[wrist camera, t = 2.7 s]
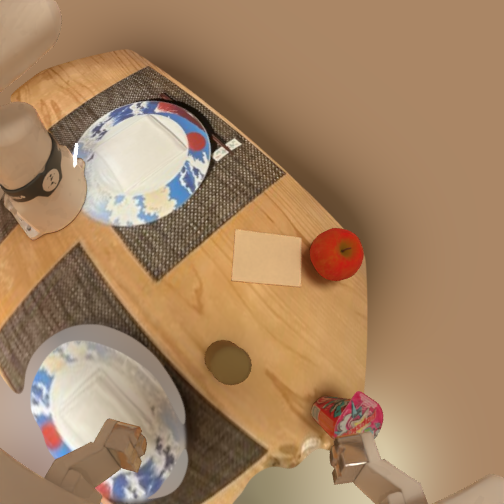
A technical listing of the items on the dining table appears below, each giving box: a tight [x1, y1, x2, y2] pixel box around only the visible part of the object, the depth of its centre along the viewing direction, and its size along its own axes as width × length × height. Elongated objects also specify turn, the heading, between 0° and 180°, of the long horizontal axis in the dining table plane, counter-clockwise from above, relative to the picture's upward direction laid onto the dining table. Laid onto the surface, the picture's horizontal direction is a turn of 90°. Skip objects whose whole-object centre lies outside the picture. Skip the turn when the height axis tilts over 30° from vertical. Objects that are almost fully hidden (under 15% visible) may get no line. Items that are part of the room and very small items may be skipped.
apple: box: [310, 228, 364, 281], centre depth 44 cm, size 9×8×11 cm
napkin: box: [231, 229, 301, 287], centre depth 47 cm, size 12×9×1 cm
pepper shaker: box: [205, 340, 252, 385], centre depth 36 cm, size 6×6×11 cm
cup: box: [311, 391, 383, 439], centre depth 36 cm, size 9×8×12 cm
